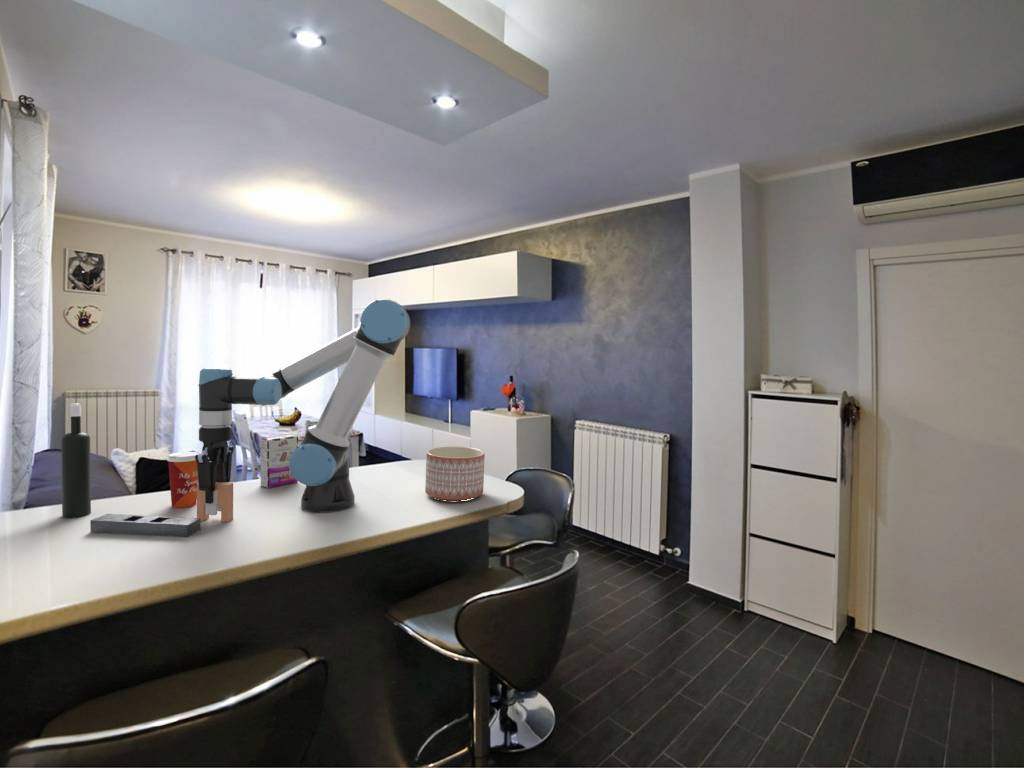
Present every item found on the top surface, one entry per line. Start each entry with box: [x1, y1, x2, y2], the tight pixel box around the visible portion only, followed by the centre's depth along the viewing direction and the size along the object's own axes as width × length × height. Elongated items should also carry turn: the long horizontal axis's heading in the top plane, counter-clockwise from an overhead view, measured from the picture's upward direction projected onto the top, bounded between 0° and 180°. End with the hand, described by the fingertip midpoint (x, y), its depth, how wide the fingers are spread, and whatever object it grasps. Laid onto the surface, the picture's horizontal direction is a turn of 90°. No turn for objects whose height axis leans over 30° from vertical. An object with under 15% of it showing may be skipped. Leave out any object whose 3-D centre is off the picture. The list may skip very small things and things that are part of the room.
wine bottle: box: [60, 402, 92, 519], centre depth 132 cm, size 6×6×30 cm
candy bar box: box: [259, 434, 299, 489], centre depth 170 cm, size 11×5×16 cm, turn 147°
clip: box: [196, 482, 234, 523], centre depth 133 cm, size 8×2×10 cm, turn 89°
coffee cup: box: [166, 451, 200, 509], centre depth 144 cm, size 8×8×15 cm
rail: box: [90, 513, 202, 538], centre depth 123 cm, size 24×5×3 cm, turn 89°
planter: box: [424, 445, 486, 501], centre depth 164 cm, size 19×19×15 cm
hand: (215, 512), depth 133 cm, fingers closed on clip, 2 cm apart
